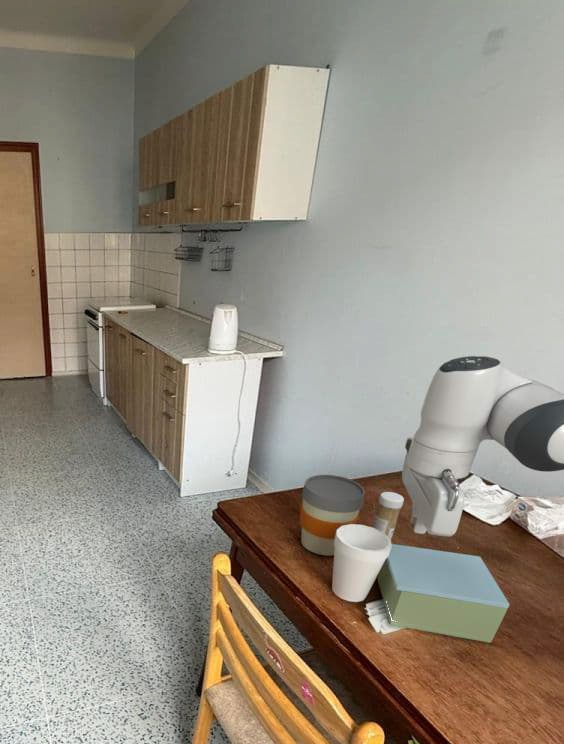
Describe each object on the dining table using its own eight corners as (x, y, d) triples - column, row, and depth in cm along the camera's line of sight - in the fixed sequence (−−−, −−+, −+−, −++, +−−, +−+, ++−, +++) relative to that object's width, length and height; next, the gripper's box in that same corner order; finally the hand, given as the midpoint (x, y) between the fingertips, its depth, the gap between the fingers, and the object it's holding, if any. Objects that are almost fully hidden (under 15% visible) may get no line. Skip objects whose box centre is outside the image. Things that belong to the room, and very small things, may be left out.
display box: (390, 624, 86) (401, 591, 83) (377, 578, 98) (386, 547, 94) (490, 643, 82) (507, 608, 78) (464, 592, 94) (478, 560, 90)
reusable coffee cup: (315, 523, 117) (326, 469, 110) (362, 547, 107) (378, 490, 100) (281, 540, 111) (291, 484, 104) (328, 567, 102) (343, 507, 94)
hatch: (396, 589, 83) (397, 586, 82) (382, 546, 94) (383, 542, 94) (507, 608, 78) (509, 604, 78) (478, 560, 90) (480, 556, 90)
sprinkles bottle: (392, 552, 106) (409, 500, 99) (372, 553, 106) (388, 501, 99) (381, 541, 110) (396, 490, 103) (362, 542, 110) (376, 491, 103)
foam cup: (324, 572, 100) (336, 520, 94) (372, 582, 97) (388, 529, 91) (323, 600, 92) (336, 546, 86) (376, 612, 89) (393, 557, 83)
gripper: (485, 489, 68) (456, 566, 74) (444, 437, 85) (423, 503, 91) (435, 484, 69) (411, 560, 76) (404, 434, 87) (386, 500, 93)
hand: (417, 529), depth 84 cm, fingers closed
